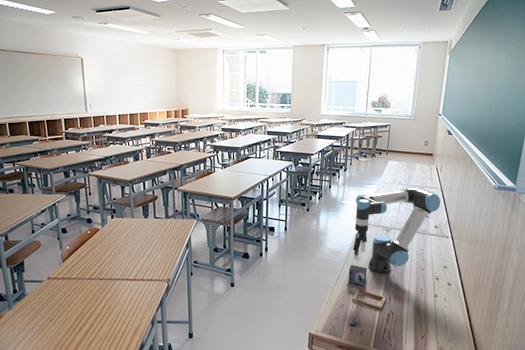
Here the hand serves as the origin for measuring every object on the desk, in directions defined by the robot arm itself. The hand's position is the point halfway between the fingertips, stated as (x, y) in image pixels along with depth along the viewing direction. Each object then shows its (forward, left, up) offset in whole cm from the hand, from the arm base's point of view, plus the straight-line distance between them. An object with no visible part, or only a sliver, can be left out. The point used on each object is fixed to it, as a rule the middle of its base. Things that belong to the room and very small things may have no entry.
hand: (359, 255), depth 217 cm
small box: (0, 0, -20) cm, 20 cm away
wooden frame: (+14, +12, -20) cm, 28 cm away
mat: (0, 0, -20) cm, 20 cm away
